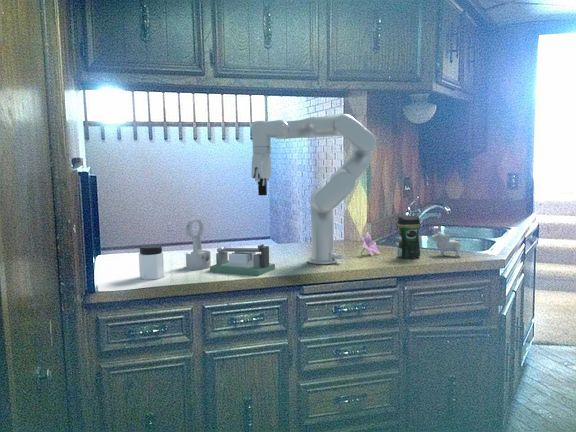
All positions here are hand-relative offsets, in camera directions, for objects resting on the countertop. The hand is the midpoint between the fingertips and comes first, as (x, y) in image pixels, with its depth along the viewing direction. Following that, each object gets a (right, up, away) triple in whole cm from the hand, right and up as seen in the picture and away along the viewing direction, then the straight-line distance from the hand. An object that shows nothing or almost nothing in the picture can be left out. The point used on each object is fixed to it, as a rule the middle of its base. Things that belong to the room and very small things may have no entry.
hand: (262, 195), depth 225 cm
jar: (-41, -32, -21) cm, 56 cm away
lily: (+48, -27, +20) cm, 58 cm away
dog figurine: (+82, -27, +16) cm, 87 cm away
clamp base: (-8, -30, -10) cm, 33 cm away
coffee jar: (+64, -27, +13) cm, 71 cm away
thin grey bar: (-8, -23, -10) cm, 27 cm away
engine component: (-27, -30, -3) cm, 40 cm away
